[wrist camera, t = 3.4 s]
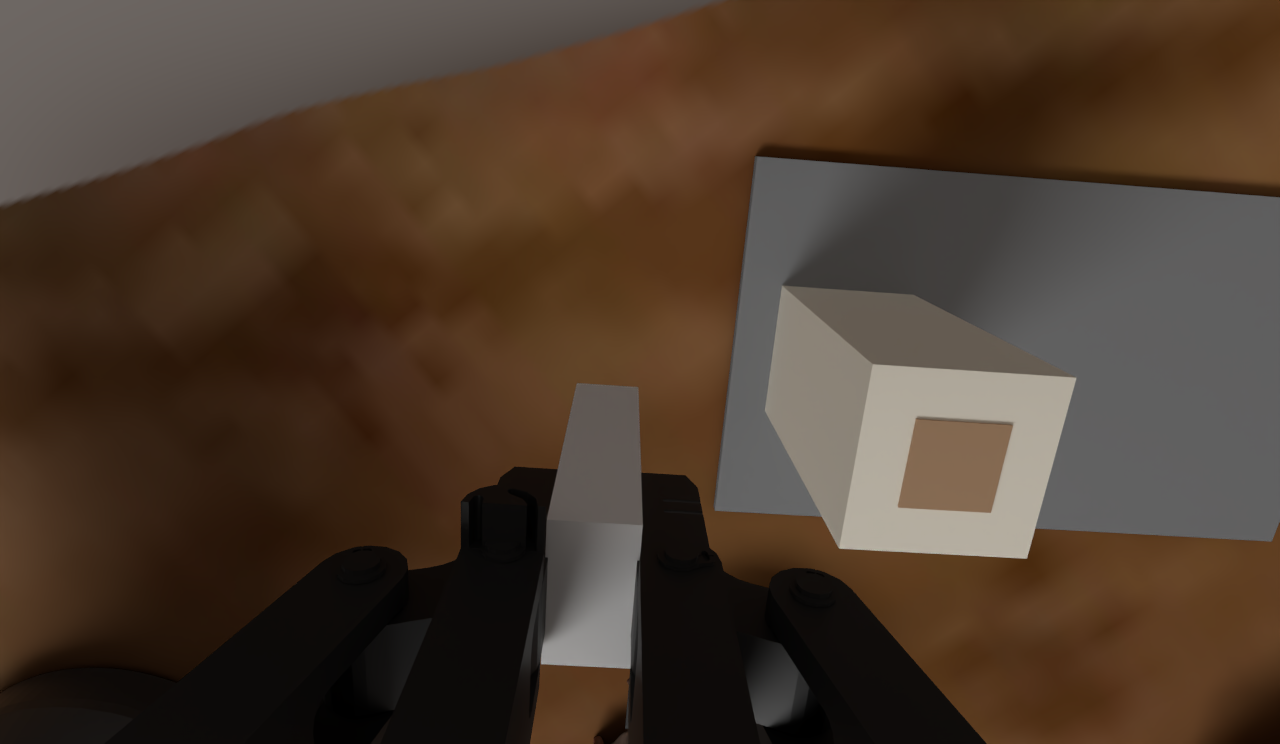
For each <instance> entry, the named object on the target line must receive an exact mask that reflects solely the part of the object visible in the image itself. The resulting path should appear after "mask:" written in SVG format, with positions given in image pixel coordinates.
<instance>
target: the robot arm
mask: <svg viewBox="0 0 1280 744" xmlns="http://www.w3.org/2000/svg"><path fill="white" fill-rule="evenodd" d="M541 653H542V655H541ZM540 658H541V664H551V665H570V666H590V667H609V668H628V669H630V679H629V691H628V702H627V714H626V726H625V729H628V744H986V742H985V741H984V740H983V739H982V738H981V737H980V736H979V734H978V733H977V732H976V731H975V730H974V729H973V728H972V726H971V725H970V724H969V723H968V722H967V721H966V720H965V718H964V717H963V716H962V715H961V714H960V713H959V712H958V710H957V709H956V708H955V707H954V706H953V705H952V704H951V702H950V701H949V700H948V699H947V698H946V697H945V696H944V694H943V693H942V692H941V691H940V690H939V689H938V688H937V686H936V685H935V684H934V683H933V682H932V681H931V680H930V678H929V677H928V676H927V675H926V674H925V673H924V672H923V670H922V669H921V668H920V667H919V666H918V665H917V664H916V662H915V661H914V660H913V659H912V658H911V657H910V656H909V654H908V653H907V652H906V651H905V650H904V649H903V648H902V646H901V645H900V644H899V643H898V642H897V641H896V640H895V638H894V637H893V636H892V635H891V634H890V633H889V632H888V630H887V629H886V628H885V627H884V626H883V625H882V624H881V622H880V621H879V620H878V619H877V618H876V617H875V616H874V614H873V613H872V612H871V611H870V610H869V609H868V608H867V606H866V605H865V604H864V603H863V602H862V601H861V600H860V598H859V597H858V596H857V595H856V594H855V593H854V592H853V590H852V589H851V588H849V587H848V586H847V585H846V584H845V583H843V582H842V581H841V580H840V579H837V578H835V577H833V576H831V575H829V574H827V573H825V572H822V571H819V570H815V569H808V568H805V569H804V568H792V569H788V570H783V571H780V572H779V573H777V574H776V575H775V576H773V577H772V579H771V582H770V585H769V588H766V587H762V586H759V585H755V584H751V583H748V582H745V581H742V580H739V579H737V578H735V577H733V576H731V575H729V574H727V573H726V572H724V571H723V567H722V562H721V561H720V559H719V557H718V555H717V553H715V552H714V551H713V550H711V549H710V548H709V543H708V538H707V533H706V528H705V522H704V517H703V515H702V507H701V504H700V497H699V492H698V488H697V487H696V486H695V485H694V484H693V483H692V482H691V481H690V480H689V479H688V478H687V477H686V476H685V475H669V474H653V473H641V457H640V427H639V397H638V387H627V386H612V385H597V384H582V383H577V385H576V390H575V394H574V399H573V403H572V408H571V412H570V417H569V421H568V426H567V430H566V435H565V439H564V444H563V448H562V453H561V457H560V462H559V466H558V469H543V468H527V467H514V468H513V469H511V470H510V471H509V472H507V473H506V474H504V475H503V476H502V477H500V480H499V482H498V485H493V486H488V487H484V488H479V489H477V490H475V491H473V492H471V493H469V494H467V495H466V497H465V498H464V499H463V500H462V501H461V549H460V552H459V554H458V557H457V559H456V560H455V561H452V562H449V563H446V564H443V565H439V566H434V567H430V568H422V569H415V570H408V565H407V559H406V558H405V557H404V556H403V555H402V554H401V553H400V552H398V551H396V550H393V549H390V548H387V547H378V546H364V547H361V546H360V547H354V548H351V549H348V550H345V551H342V552H339V553H336V554H334V555H333V556H331V557H329V558H328V559H326V560H324V561H323V562H321V563H320V564H319V565H318V566H317V567H315V568H314V569H313V570H312V571H311V572H309V573H308V574H307V575H306V576H305V577H303V578H302V579H301V580H300V581H299V582H297V583H296V584H295V585H294V586H293V587H291V588H290V589H289V590H288V591H287V592H285V593H284V594H283V595H282V596H281V597H279V598H278V599H277V600H276V601H275V602H273V603H272V604H271V605H270V606H269V607H267V608H266V609H265V610H264V611H263V612H261V613H260V614H259V615H258V616H257V617H255V618H254V619H253V620H252V621H251V622H249V623H248V624H247V625H246V626H245V627H243V628H242V629H241V630H240V631H239V632H237V633H236V634H235V635H234V636H233V637H231V638H230V639H229V640H228V641H227V642H225V643H224V644H223V645H222V646H221V647H219V648H218V649H217V650H216V651H215V652H213V653H212V654H211V655H210V656H209V657H207V658H206V659H205V660H204V661H203V662H201V663H200V664H199V665H198V666H197V667H195V668H194V669H193V670H192V671H191V672H189V673H188V674H187V675H186V676H185V677H183V678H182V679H181V680H180V681H179V682H177V683H175V682H172V681H170V680H166V679H163V678H160V677H157V676H153V675H149V674H145V673H140V672H135V671H129V670H121V669H112V668H76V669H67V670H60V671H55V672H50V673H46V674H42V675H38V676H35V677H32V678H29V679H27V680H24V681H22V682H20V683H17V684H15V685H14V686H12V687H10V688H8V689H6V690H5V691H3V692H1V693H0V744H530V739H531V733H532V727H533V721H534V715H535V708H536V702H537V696H538V690H539V675H540Z"/></svg>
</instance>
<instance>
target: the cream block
mask: <svg viewBox="0 0 1280 744" xmlns="http://www.w3.org/2000/svg"><path fill="white" fill-rule="evenodd" d="M1075 382H1076V377H1074V376H1072V375H1070V374H1068V373H1066V372H1064V371H1063V370H1061V369H1059V368H1057V367H1055V366H1053V365H1051V364H1049V363H1047V362H1045V361H1043V360H1041V359H1039V358H1037V357H1035V356H1033V355H1031V354H1029V353H1027V352H1025V351H1023V350H1021V349H1019V348H1017V347H1015V346H1013V345H1011V344H1009V343H1007V342H1005V341H1003V340H1002V339H1000V338H998V337H996V336H994V335H992V334H990V333H988V332H986V331H984V330H982V329H980V328H978V327H976V326H974V325H972V324H970V323H968V322H966V321H964V320H962V319H960V318H958V317H956V316H954V315H952V314H950V313H948V312H946V311H944V310H942V309H941V308H939V307H937V306H935V305H933V304H931V303H929V302H927V301H925V300H923V299H921V298H919V297H917V296H915V295H910V294H896V293H882V292H867V291H853V290H839V289H824V288H810V287H796V286H782V289H781V297H780V304H779V311H778V318H777V326H776V333H775V340H774V348H773V355H772V362H771V370H770V377H769V384H768V392H767V399H766V406H765V412H766V414H767V416H768V418H769V419H770V421H771V423H772V425H773V427H774V429H775V431H776V432H777V434H778V436H779V438H780V440H781V442H782V444H783V445H784V447H785V449H786V451H787V453H788V455H789V457H790V458H791V460H792V462H793V464H794V466H795V468H796V470H797V471H798V473H799V475H800V477H801V479H802V481H803V482H804V484H805V486H806V488H807V490H808V492H809V494H810V495H811V497H812V499H813V501H814V503H815V505H816V507H817V508H818V510H819V512H820V514H821V516H822V518H823V520H824V521H825V523H826V525H827V527H828V529H829V531H830V533H831V534H832V536H833V538H834V540H835V542H836V544H837V545H838V547H839V549H858V550H876V551H895V552H914V553H933V554H952V555H970V556H989V557H1008V558H1027V556H1028V553H1029V549H1030V545H1031V542H1032V538H1033V534H1034V531H1035V527H1036V523H1037V520H1038V516H1039V513H1040V509H1041V505H1042V502H1043V498H1044V494H1045V491H1046V487H1047V483H1048V480H1049V476H1050V473H1051V469H1052V465H1053V462H1054V458H1055V454H1056V451H1057V447H1058V444H1059V440H1060V436H1061V433H1062V429H1063V425H1064V422H1065V418H1066V414H1067V411H1068V407H1069V404H1070V400H1071V396H1072V393H1073V389H1074V385H1075Z"/></svg>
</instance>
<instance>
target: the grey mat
mask: <svg viewBox="0 0 1280 744" xmlns="http://www.w3.org/2000/svg"><path fill="white" fill-rule="evenodd" d="M782 286H796V287H810V288H824V289H839V290H853V291H867V292H882V293H896V294H910V295H915V296H917V297H919V298H921V299H923V300H925V301H927V302H929V303H931V304H933V305H935V306H937V307H939V308H941V309H942V310H944V311H946V312H948V313H950V314H952V315H954V316H956V317H958V318H960V319H962V320H964V321H966V322H968V323H970V324H972V325H974V326H976V327H978V328H980V329H982V330H984V331H986V332H988V333H990V334H992V335H994V336H996V337H998V338H1000V339H1002V340H1003V341H1005V342H1007V343H1009V344H1011V345H1013V346H1015V347H1017V348H1019V349H1021V350H1023V351H1025V352H1027V353H1029V354H1031V355H1033V356H1035V357H1037V358H1039V359H1041V360H1043V361H1045V362H1047V363H1049V364H1051V365H1053V366H1055V367H1057V368H1059V369H1061V370H1063V371H1064V372H1066V373H1068V374H1070V375H1072V376H1074V377H1076V382H1075V385H1074V389H1073V393H1072V396H1071V400H1070V404H1069V407H1068V411H1067V414H1066V418H1065V422H1064V425H1063V429H1062V433H1061V436H1060V440H1059V444H1058V447H1057V451H1056V454H1055V458H1054V462H1053V465H1052V469H1051V473H1050V476H1049V480H1048V483H1047V487H1046V491H1045V494H1044V498H1043V502H1042V505H1041V509H1040V513H1039V516H1038V520H1037V523H1036V527H1035V528H1039V529H1057V530H1075V531H1093V532H1111V533H1129V534H1147V535H1165V536H1184V537H1202V538H1220V539H1238V540H1256V541H1272V540H1273V537H1274V534H1275V532H1276V529H1277V527H1278V524H1279V522H1280V197H1268V196H1255V195H1243V194H1230V193H1217V192H1204V191H1192V190H1179V189H1166V188H1153V187H1141V186H1128V185H1115V184H1102V183H1089V182H1077V181H1064V180H1051V179H1038V178H1026V177H1013V176H1000V175H987V174H975V173H962V172H949V171H936V170H924V169H911V168H898V167H885V166H873V165H860V164H847V163H834V162H822V161H809V160H796V159H783V158H771V157H758V156H755V162H754V170H753V179H752V187H751V196H750V204H749V213H748V221H747V229H746V238H745V246H744V255H743V263H742V272H741V280H740V289H739V297H738V305H737V314H736V322H735V331H734V339H733V348H732V356H731V364H730V373H729V381H728V390H727V398H726V407H725V415H724V423H723V432H722V440H721V449H720V457H719V466H718V474H717V482H716V491H715V499H714V509H715V511H731V512H749V513H767V514H786V515H804V516H821V514H820V512H819V510H818V508H817V507H816V505H815V503H814V501H813V499H812V497H811V495H810V494H809V492H808V490H807V488H806V486H805V484H804V482H803V481H802V479H801V477H800V475H799V473H798V471H797V470H796V468H795V466H794V464H793V462H792V460H791V458H790V457H789V455H788V453H787V451H786V449H785V447H784V445H783V444H782V442H781V440H780V438H779V436H778V434H777V432H776V431H775V429H774V427H773V425H772V423H771V421H770V419H769V418H768V416H767V414H766V412H765V406H766V399H767V392H768V384H769V377H770V370H771V362H772V355H773V348H774V340H775V333H776V326H777V318H778V311H779V304H780V297H781V289H782Z"/></svg>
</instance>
